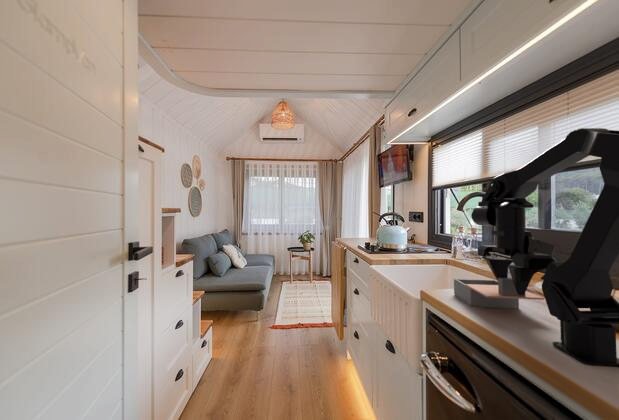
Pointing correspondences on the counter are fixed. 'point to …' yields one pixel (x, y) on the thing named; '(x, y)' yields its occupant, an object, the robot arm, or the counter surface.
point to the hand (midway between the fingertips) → (511, 291)
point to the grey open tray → (478, 299)
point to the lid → (502, 290)
